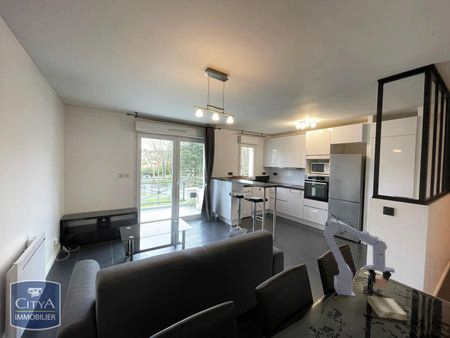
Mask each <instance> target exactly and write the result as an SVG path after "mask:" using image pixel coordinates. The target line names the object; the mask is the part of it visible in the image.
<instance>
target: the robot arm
mask: <svg viewBox="0 0 450 338" xmlns="http://www.w3.org/2000/svg"><path fill="white" fill-rule="evenodd" d="M339 231H340V232H343V231H344V232H348V233H349V234H351V235H354V236H356V237H358V239H359V241H361V242H363V243H365V244H367V245H369V246H371V247H372V264H367V265H366V264H365V265H363V268H364V270H365V271H368V273H369V275H370V278H371V283H372V282H373V283H374V284H375V277H376V275H377V273H376V272H377V271H378V272H382V273H381V274H382V276H383V277H384V278H385V279H386V280H387V282H388V281H389V279H390V277H392V274H395V273H396V271H395V268H394V267H388V266H386V250H387V249H388V245H387V244H386V242H385V241H383V240H382V238H380V237H378V236H374V235H372V234H370V232H368V231H360V230H358V229H356V228H354V227H352V226H351V225H348V224H346V223H345V222H342V221H340V220H339V219H337V220H336V219H335V218H334V217H330V218H328V219H327V220H326V222H325V223H324V230H323V235H324V238H325V240H326V243H327V244H328V245H327V246H328V247H329V248H330V251H331V253H332V254H333V257H334V260H335V262H336V263H337V268H338V271H339V273H338V274H337V275H334V276H333V288H334V290H335V292H336V293H337V295H342V296H350V297H356V294H355V293H354V292H353V278H354V273H353V272H352V270H351V268H350V266H349V265H348V264H347V263H346V261H345V259H344V256H343V255H342V253H341V250H340V249H339V246H338V244H337V243H336V240H335V238H334V237H335V235H336V233H338V232H339ZM373 283H372V284H373ZM374 284H373V285H374Z"/></svg>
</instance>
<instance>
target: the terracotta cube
mask: <svg viewBox="0 0 450 338" xmlns="http://www.w3.org/2000/svg"><path fill="white" fill-rule="evenodd" d="M371 283H372V284H373V285H374V287H375V288H376V289H384V290H385V289H386V290H387V289H388V288H387V284H388V281H387V280H386V279H385V278H384V277H383V274H381V275H380V274H376V277H375V284H374V283H373V282H372V281H371Z"/></svg>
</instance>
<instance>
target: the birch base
mask: <svg viewBox="0 0 450 338" xmlns="http://www.w3.org/2000/svg"><path fill="white" fill-rule="evenodd" d="M367 302H368V304H369V305H370V306H371V307H372V310H373V311H374V312H375V313H376V314H377V316H378V317H380V318H385V319H386V318H387V319H392V320H393V319H394V320H400V321H408V313H406V311H405V310H404V309H403V308H402V307H401V306H400V305H399V304H398V303H397V302H396V301H395V299H393V298H389V297H382V296H381V297H380V296H374V295H373V296H371V295H367Z"/></svg>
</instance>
